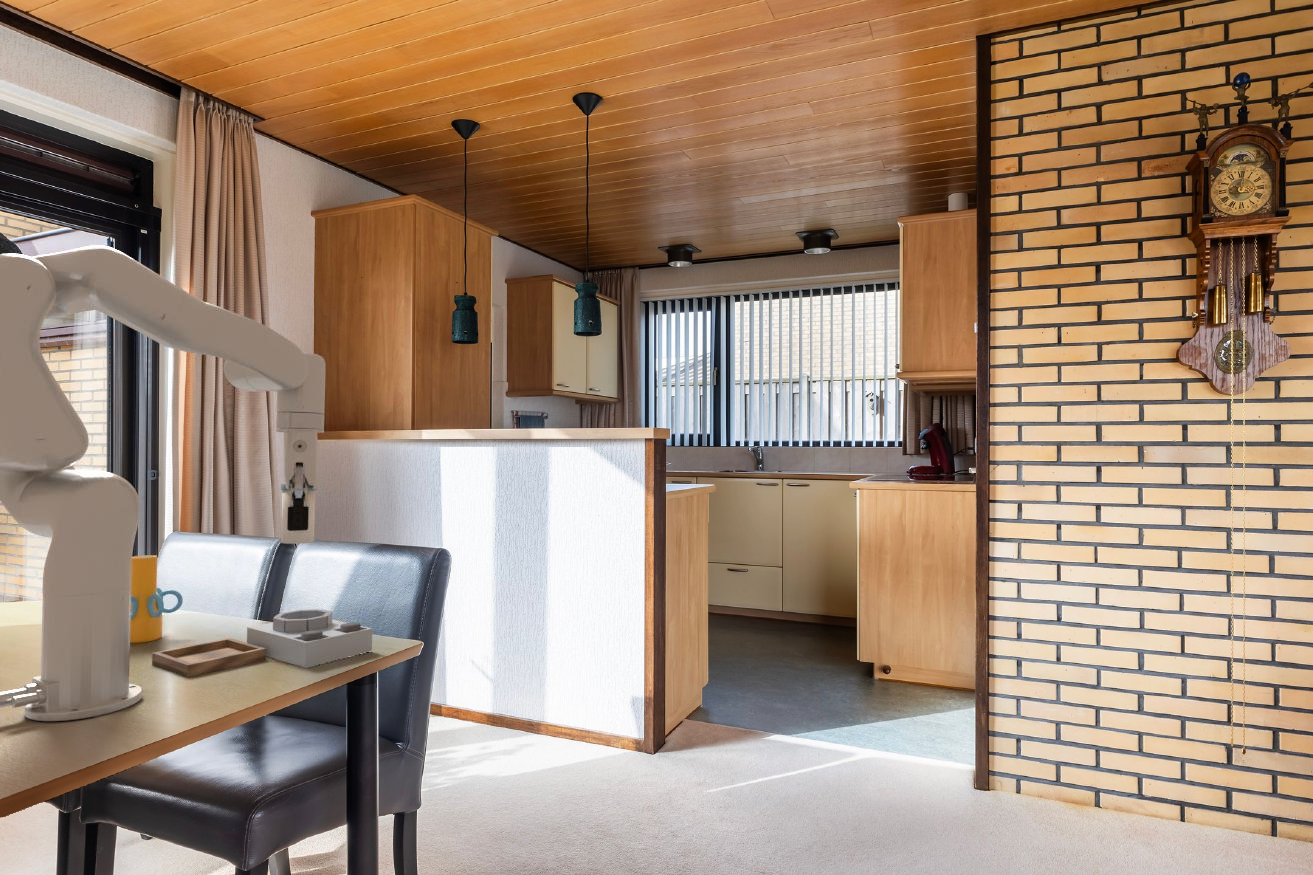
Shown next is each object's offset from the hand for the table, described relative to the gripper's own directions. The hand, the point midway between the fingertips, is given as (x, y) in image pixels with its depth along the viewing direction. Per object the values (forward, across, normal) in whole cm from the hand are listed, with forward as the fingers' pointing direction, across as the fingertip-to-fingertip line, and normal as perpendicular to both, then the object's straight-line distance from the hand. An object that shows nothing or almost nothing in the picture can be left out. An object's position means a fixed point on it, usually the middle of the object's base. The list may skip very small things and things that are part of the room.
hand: (297, 527), depth 130 cm
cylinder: (+21, +20, +25) cm, 38 cm away
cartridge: (+2, 0, 0) cm, 2 cm away
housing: (+21, -2, -3) cm, 21 cm away
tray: (+21, -2, +12) cm, 25 cm away
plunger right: (+20, -5, -9) cm, 22 cm away
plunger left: (+20, -9, -3) cm, 22 cm away
